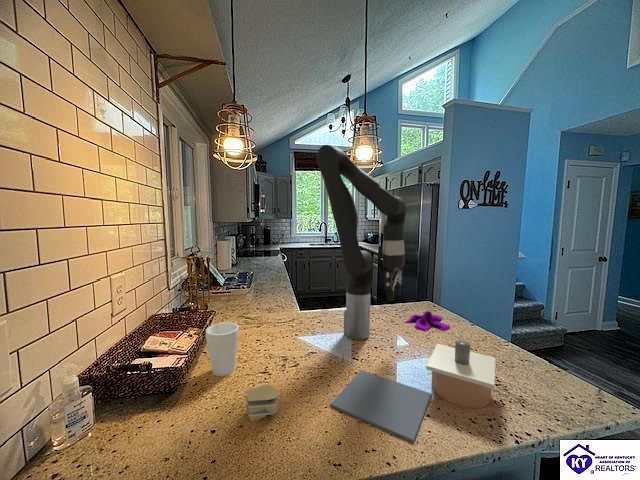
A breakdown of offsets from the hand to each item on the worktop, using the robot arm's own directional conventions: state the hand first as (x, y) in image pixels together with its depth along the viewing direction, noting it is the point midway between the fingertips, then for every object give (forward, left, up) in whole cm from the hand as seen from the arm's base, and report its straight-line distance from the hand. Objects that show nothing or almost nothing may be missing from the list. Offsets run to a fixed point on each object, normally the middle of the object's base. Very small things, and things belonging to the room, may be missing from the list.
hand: (393, 297), depth 100 cm
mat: (+8, -32, -17) cm, 37 cm away
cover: (+24, -16, -10) cm, 30 cm away
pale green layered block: (-14, -52, -18) cm, 57 cm away
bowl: (+24, -16, -17) cm, 34 cm away
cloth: (+5, +28, -18) cm, 34 cm away
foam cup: (-37, -45, -18) cm, 61 cm away
